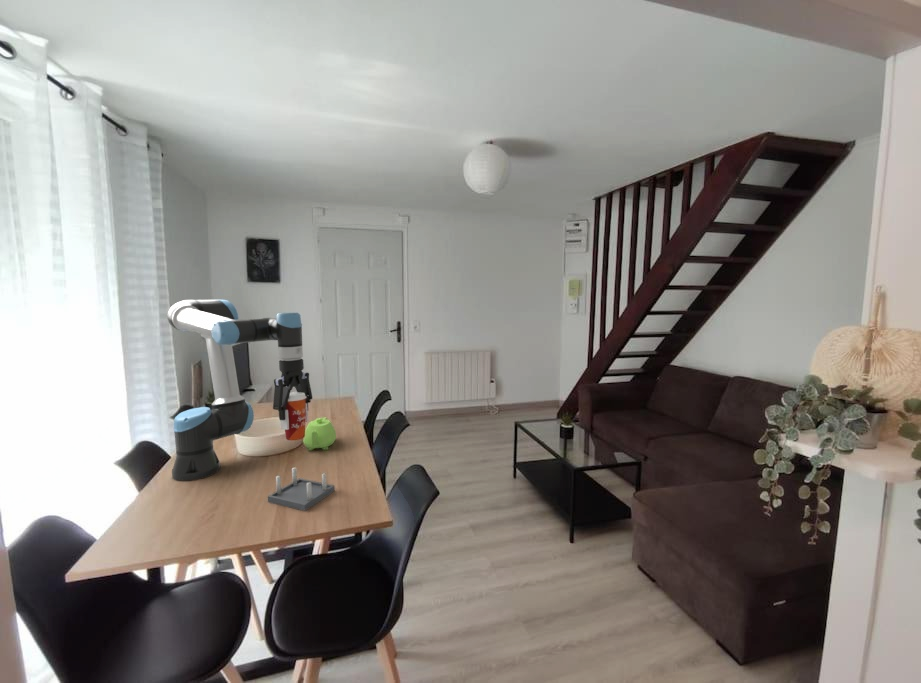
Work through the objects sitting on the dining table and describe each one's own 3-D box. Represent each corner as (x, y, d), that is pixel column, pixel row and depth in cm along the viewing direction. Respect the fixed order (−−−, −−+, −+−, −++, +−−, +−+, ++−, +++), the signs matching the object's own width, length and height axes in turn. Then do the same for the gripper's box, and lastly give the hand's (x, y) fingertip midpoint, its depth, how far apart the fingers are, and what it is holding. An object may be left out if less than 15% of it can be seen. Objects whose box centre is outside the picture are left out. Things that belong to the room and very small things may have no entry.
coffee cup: (299, 442, 135) (297, 397, 134) (277, 440, 137) (274, 396, 135) (313, 434, 144) (311, 391, 142) (291, 432, 145) (289, 391, 144)
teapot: (330, 455, 170) (328, 425, 169) (296, 456, 170) (295, 426, 168) (340, 438, 190) (339, 411, 189) (311, 439, 189) (310, 412, 188)
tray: (267, 502, 132) (266, 480, 131) (299, 483, 145) (298, 463, 144) (304, 511, 126) (303, 488, 126) (334, 491, 139) (333, 470, 139)
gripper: (275, 364, 126) (279, 436, 129) (321, 355, 146) (324, 417, 148) (256, 363, 129) (261, 433, 131) (304, 354, 149) (307, 415, 151)
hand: (294, 425), depth 140 cm, fingers closed on coffee cup, 8 cm apart
